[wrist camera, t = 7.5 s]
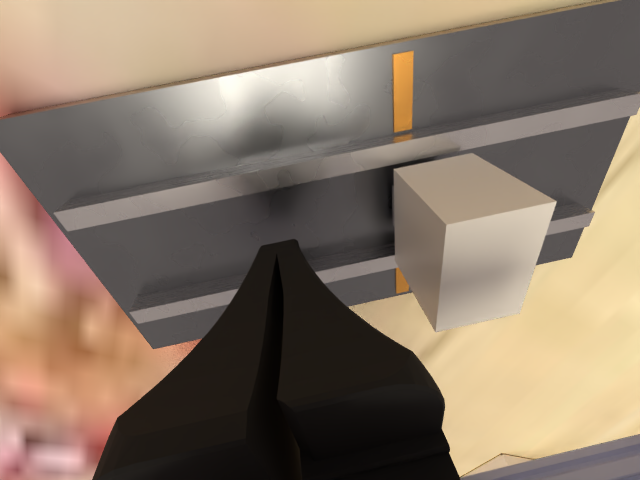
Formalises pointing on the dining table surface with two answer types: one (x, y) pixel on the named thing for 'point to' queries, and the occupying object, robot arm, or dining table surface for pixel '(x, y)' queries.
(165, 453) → the robot arm
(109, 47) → the dining table surface
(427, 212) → the fader tab
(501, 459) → the gable box
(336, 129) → the fader console
